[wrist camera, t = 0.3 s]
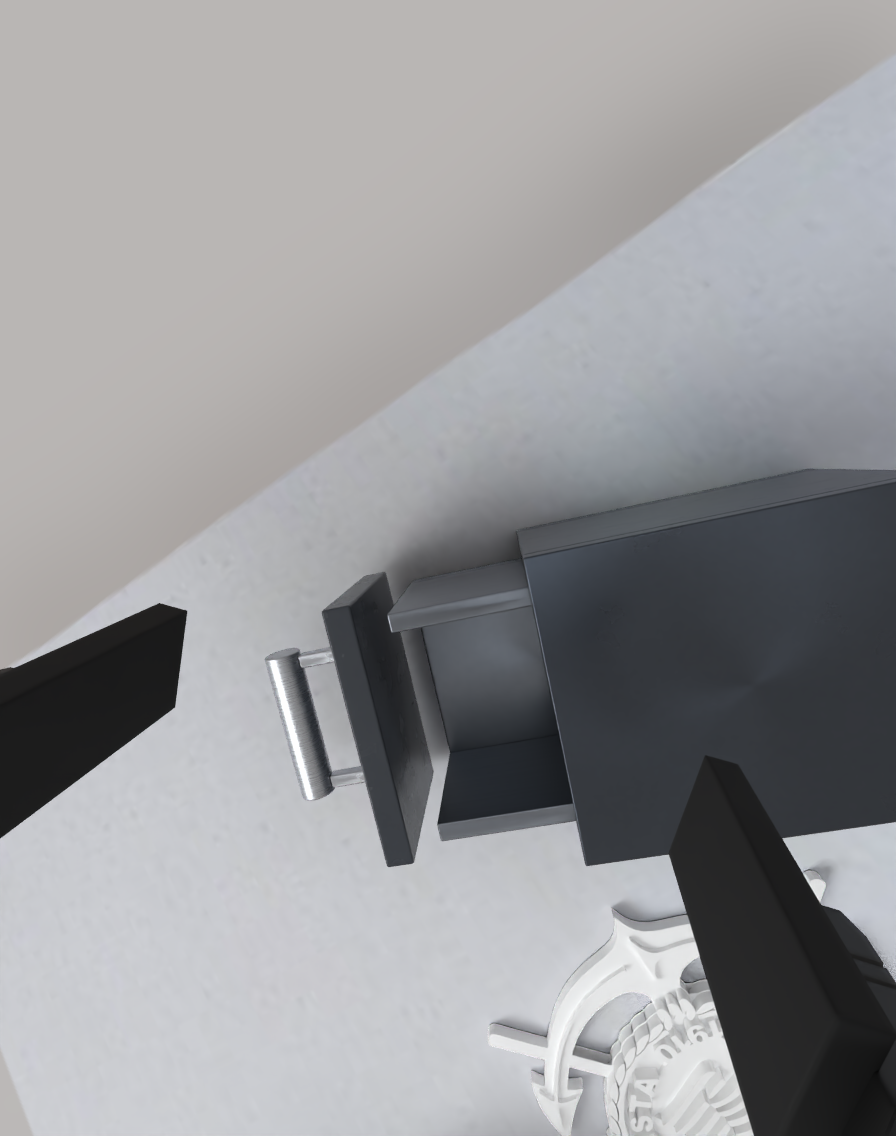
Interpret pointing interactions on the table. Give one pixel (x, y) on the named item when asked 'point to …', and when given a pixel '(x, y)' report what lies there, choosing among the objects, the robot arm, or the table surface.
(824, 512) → the small drawer cabinet
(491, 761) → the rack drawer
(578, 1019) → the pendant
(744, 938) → the robot arm
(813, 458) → the table surface
